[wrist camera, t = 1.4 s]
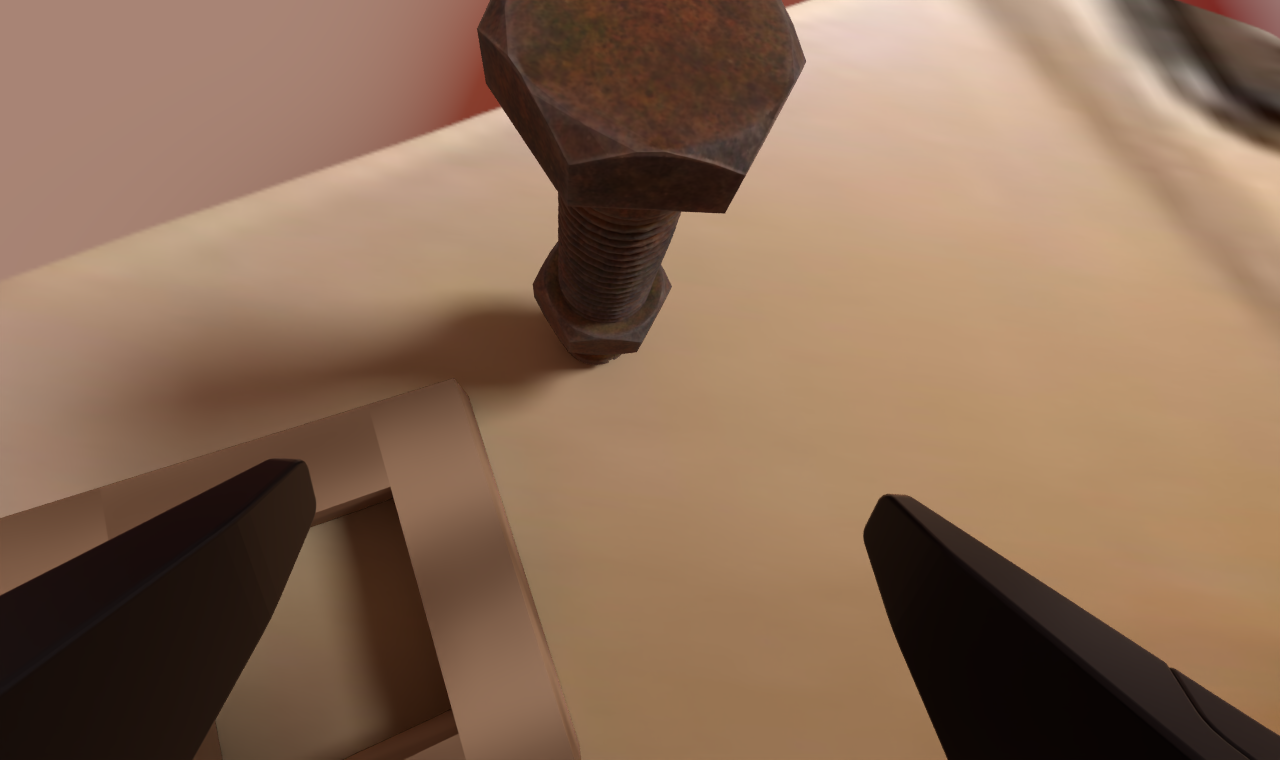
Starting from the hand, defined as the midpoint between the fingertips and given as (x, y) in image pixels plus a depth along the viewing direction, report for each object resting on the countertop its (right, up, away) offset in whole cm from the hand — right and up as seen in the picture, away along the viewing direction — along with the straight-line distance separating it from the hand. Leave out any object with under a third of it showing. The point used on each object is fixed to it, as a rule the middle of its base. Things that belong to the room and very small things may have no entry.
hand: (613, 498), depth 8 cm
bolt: (-2, +4, +15) cm, 15 cm away
